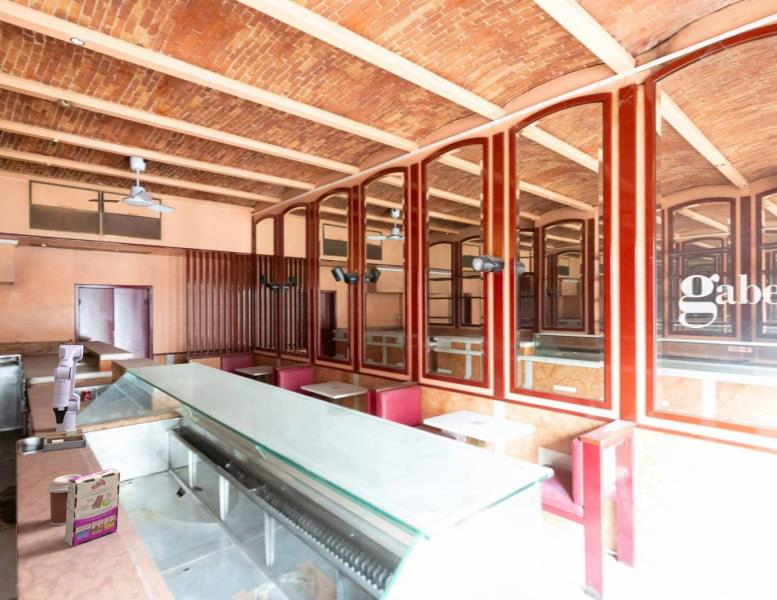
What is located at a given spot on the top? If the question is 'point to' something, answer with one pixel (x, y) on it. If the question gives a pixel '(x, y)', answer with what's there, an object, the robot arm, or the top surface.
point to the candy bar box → (92, 506)
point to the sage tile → (71, 432)
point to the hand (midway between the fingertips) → (59, 423)
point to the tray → (64, 445)
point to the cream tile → (57, 441)
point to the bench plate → (63, 436)
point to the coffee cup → (59, 499)
